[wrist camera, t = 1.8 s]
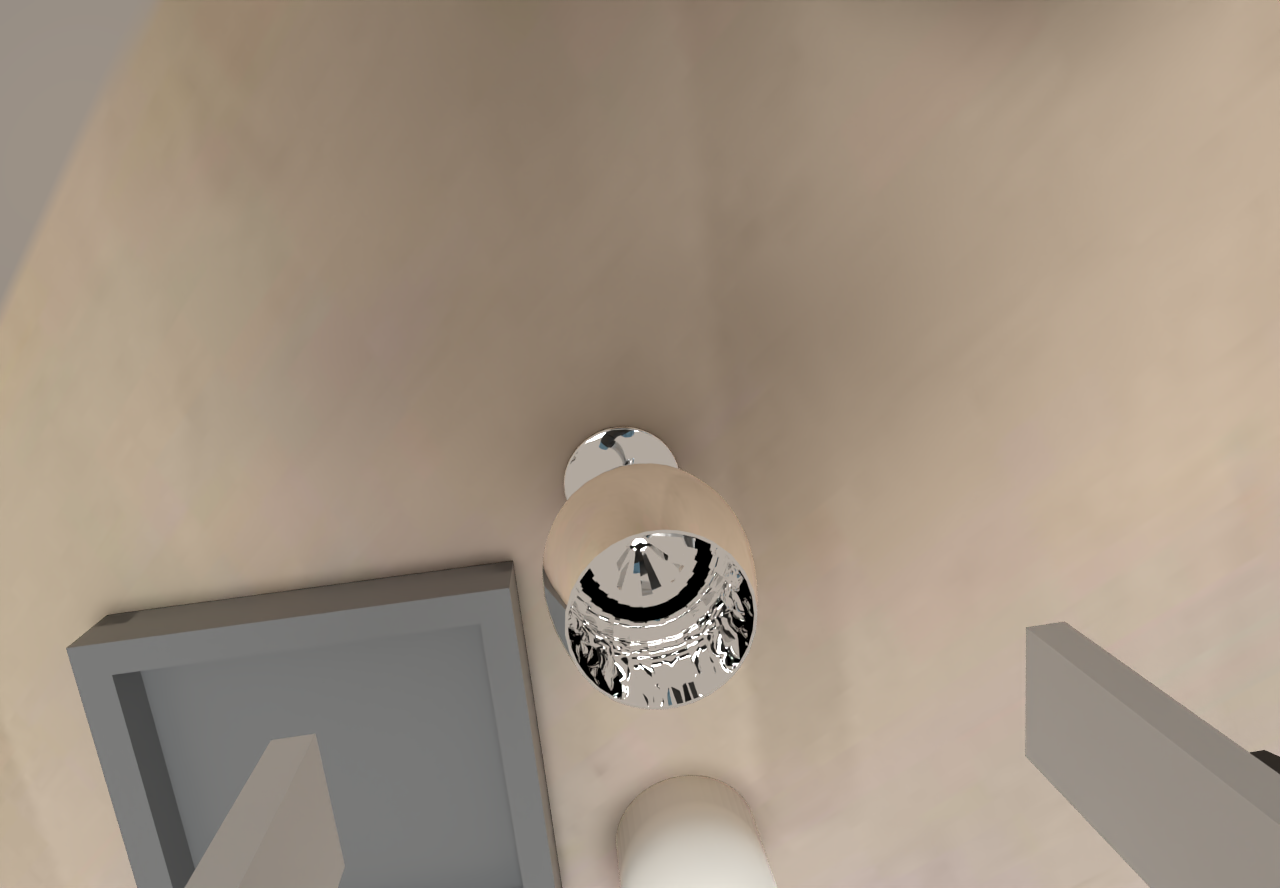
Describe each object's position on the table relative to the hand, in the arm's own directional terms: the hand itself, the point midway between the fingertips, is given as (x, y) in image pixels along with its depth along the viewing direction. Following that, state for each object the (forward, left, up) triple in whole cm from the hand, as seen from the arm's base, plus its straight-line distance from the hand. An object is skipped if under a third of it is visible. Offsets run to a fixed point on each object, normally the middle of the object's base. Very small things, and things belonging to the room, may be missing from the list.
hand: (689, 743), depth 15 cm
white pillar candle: (+16, +1, -17) cm, 23 cm away
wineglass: (0, 0, -17) cm, 17 cm away
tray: (+10, -12, -17) cm, 23 cm away
